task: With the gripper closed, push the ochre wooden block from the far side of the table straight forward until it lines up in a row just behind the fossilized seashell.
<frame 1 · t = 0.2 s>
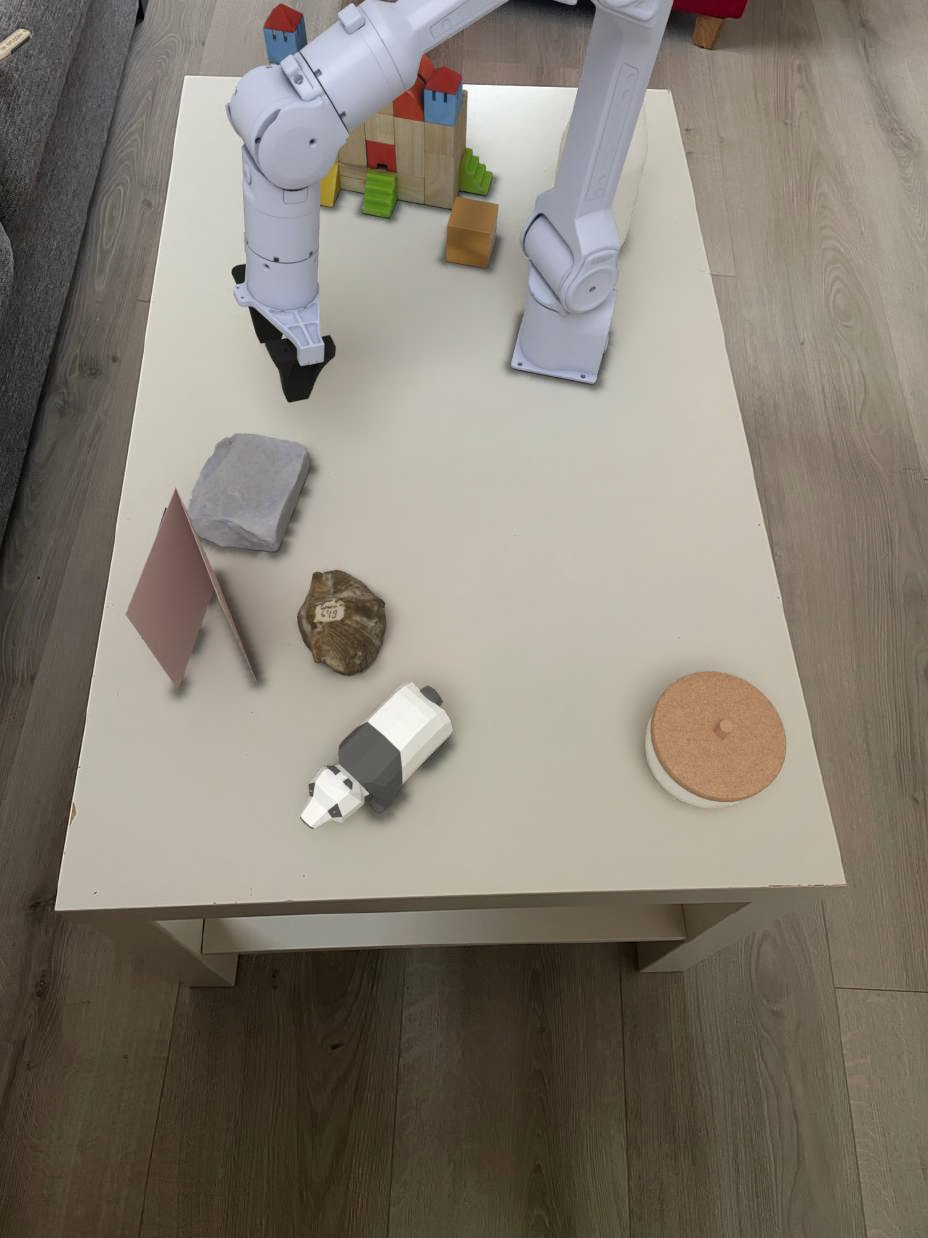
hand: (283, 368, 79), 11 cm above the table, tool pointing down, fingers open, 7 cm apart
ochre block: (470, 250, 102), on the table
greeting card: (228, 639, 78), on the table
block set: (376, 177, 107), on the table
giant panda: (382, 773, 73), on the table
stone block: (250, 499, 85), on the table
fossilized seashell: (343, 633, 79), on the table
trinket box: (691, 761, 75), on the table
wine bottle: (585, 237, 104), on the table
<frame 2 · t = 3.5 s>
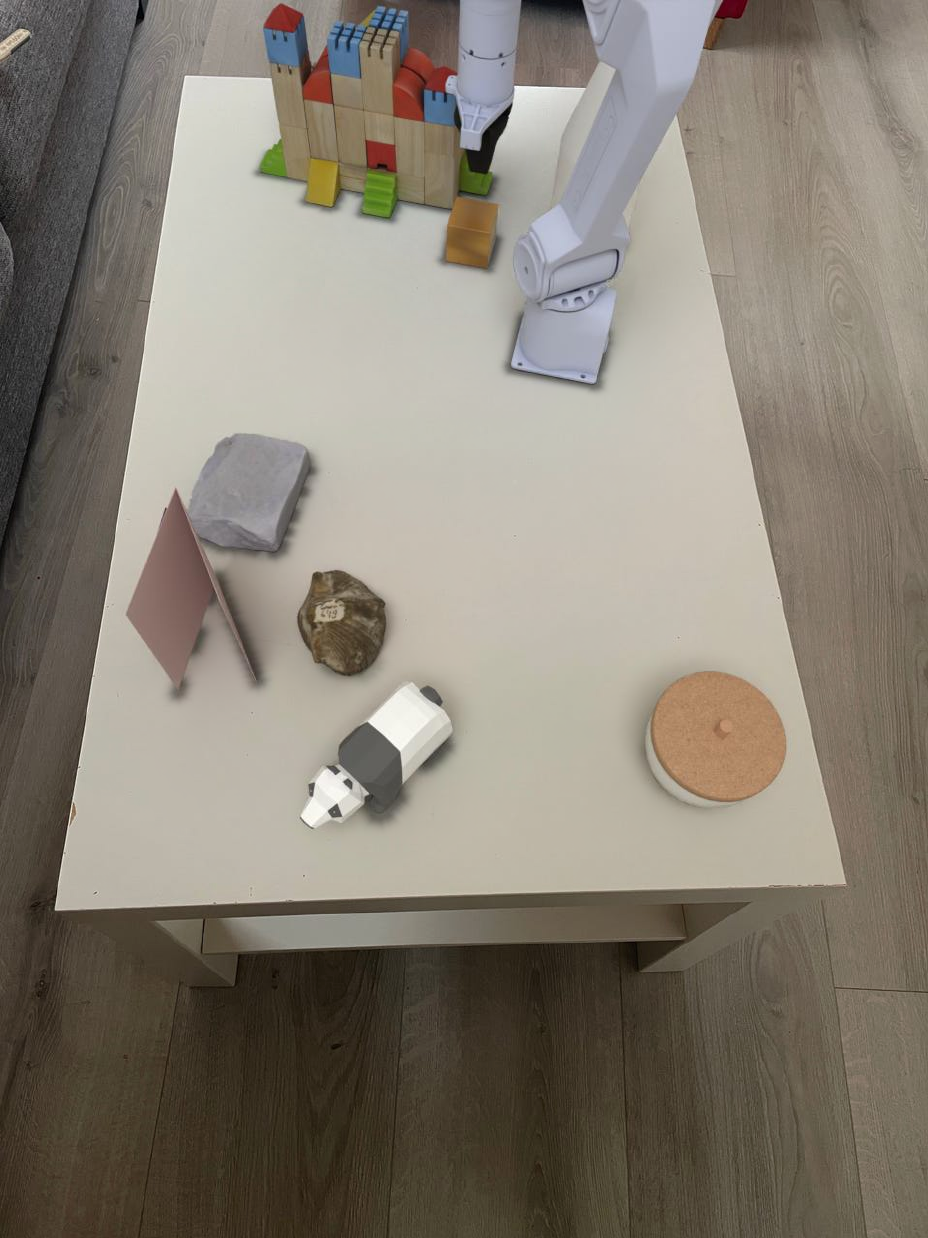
hand: (479, 169, 95), 8 cm above the table, tool pointing down, fingers closed
nothing on the table moved.
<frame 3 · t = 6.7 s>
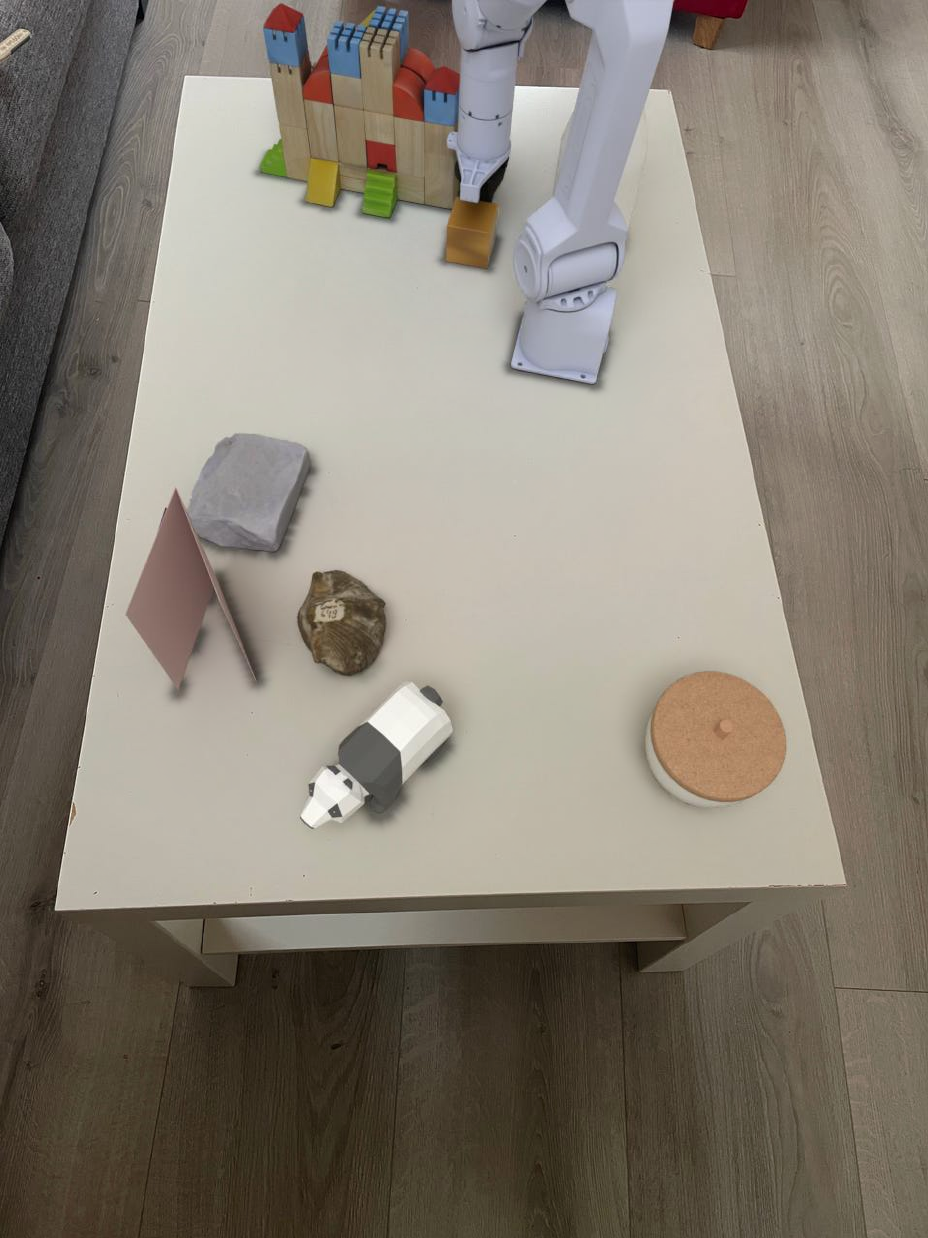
hand: (478, 215, 102), 2 cm above the table, tool pointing down, fingers closed
ochre block: (470, 250, 102), on the table, touching gripper
everything else where it was.
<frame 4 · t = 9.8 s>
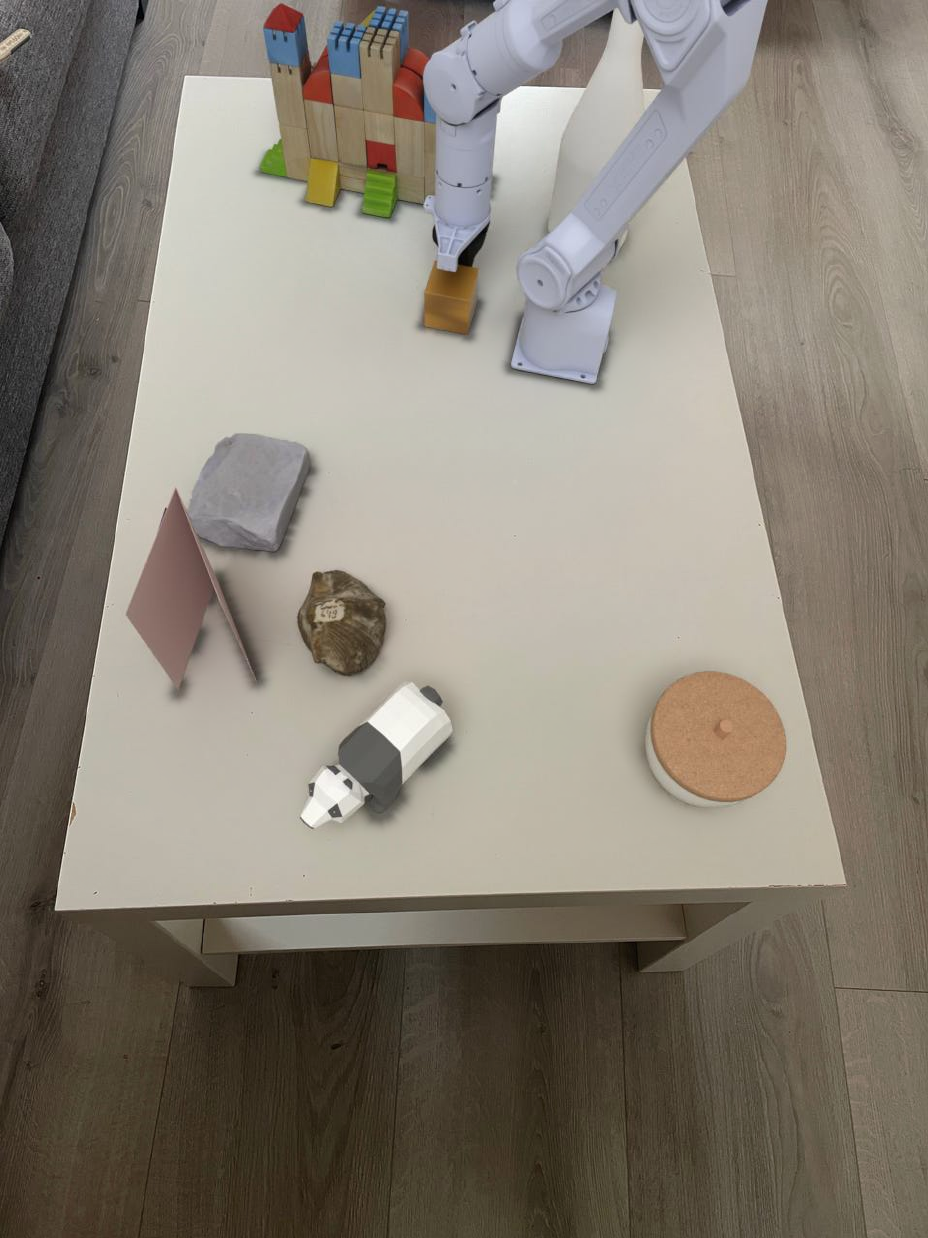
hand: (458, 278, 97), 2 cm above the table, tool pointing down, fingers closed
ochre block: (450, 314, 97), on the table, touching gripper
everything else where it was.
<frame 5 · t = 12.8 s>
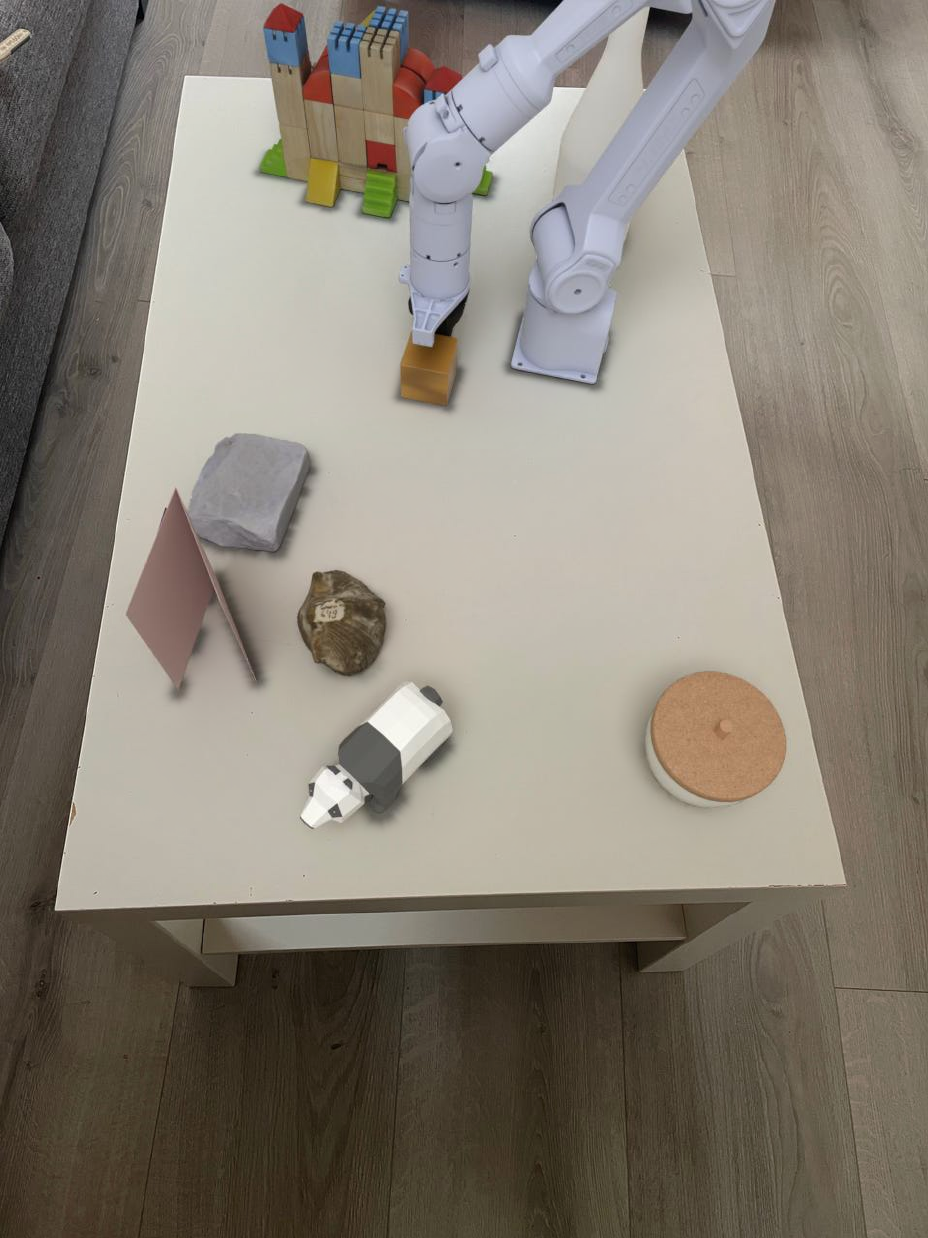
hand: (438, 345, 92), 2 cm above the table, tool pointing down, fingers closed
ochre block: (429, 384, 92), on the table, touching gripper
everything else where it was.
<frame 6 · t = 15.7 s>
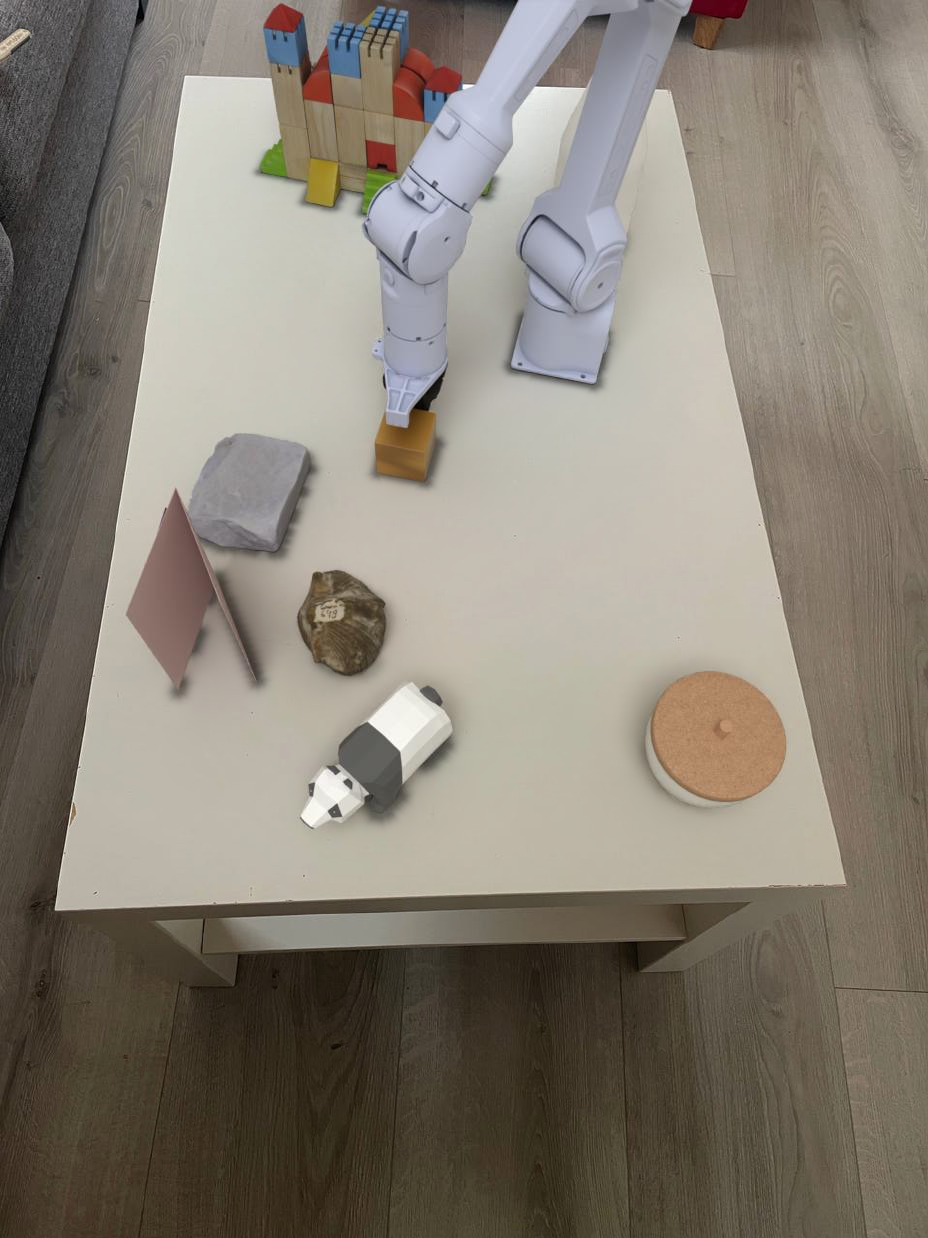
hand: (416, 417, 88), 2 cm above the table, tool pointing down, fingers closed
ochre block: (406, 458, 88), on the table, touching gripper
everything else where it was.
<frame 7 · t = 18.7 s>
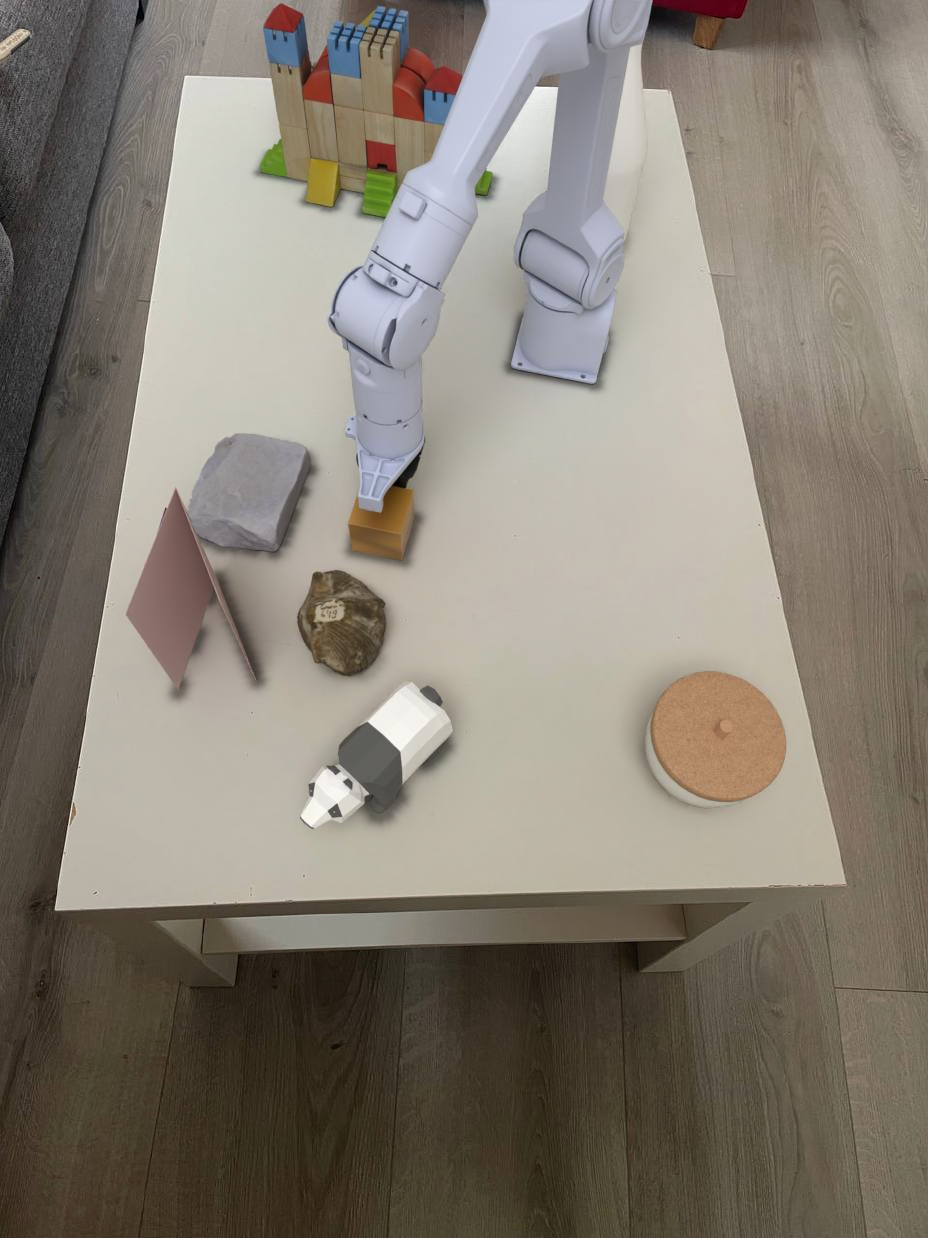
hand: (393, 491, 84), 2 cm above the table, tool pointing down, fingers closed
ochre block: (383, 534, 84), on the table, touching gripper
everything else where it was.
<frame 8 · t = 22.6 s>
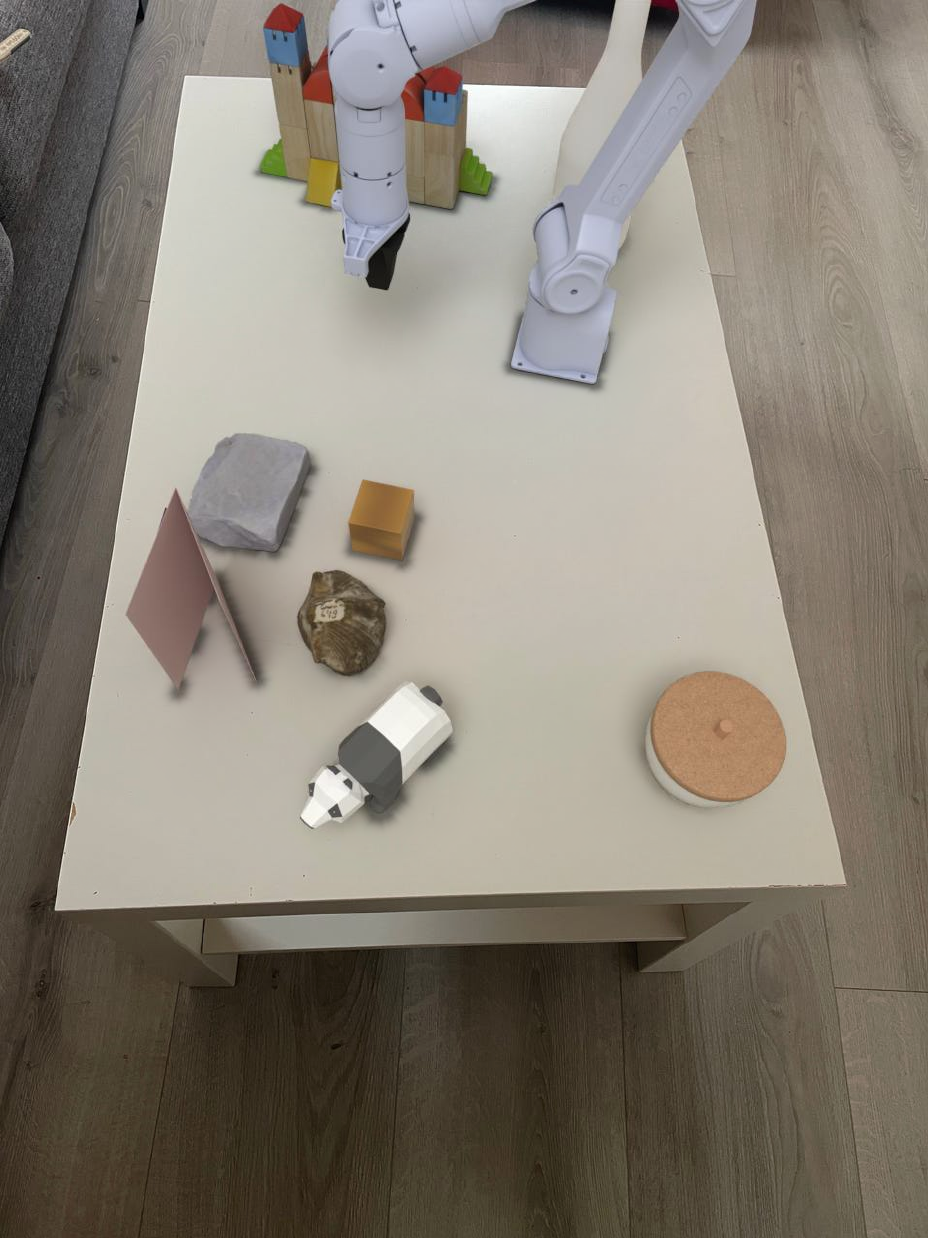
hand: (379, 284, 86), 9 cm above the table, tool pointing down, fingers closed
ochre block: (383, 534, 84), on the table
everything else where it was.
at the end: ochre block inside the target area on the table beside the fossilized seashell (1.8 cm from its centre), on the table; ochre block 11.2 cm from the fossilized seashell (horizontally); ochre block tilted 0° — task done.
